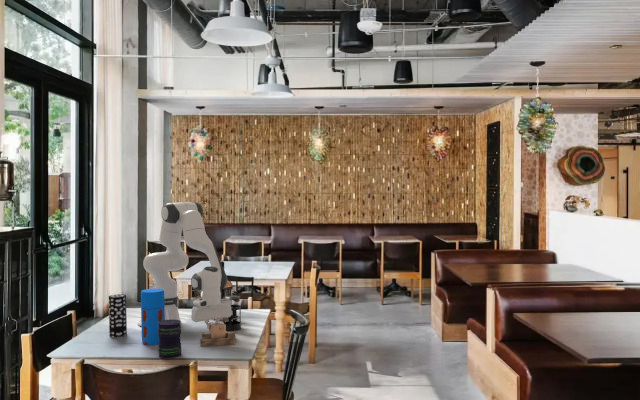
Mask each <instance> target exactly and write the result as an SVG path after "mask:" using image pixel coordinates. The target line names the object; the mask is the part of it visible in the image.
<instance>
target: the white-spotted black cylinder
mask: <svg viewBox="0 0 640 400" xmlns="http://www.w3.org/2000/svg"><path fill="white" fill-rule="evenodd" d="M108 321H109V322H108V324H109V325H108V326H109V327H108V329H109V331H108V332H109V335H108V336H109V337H110V338H122V337H123V338H124V337H126V336H127V334H128V331H127V330H128V326H127V324H128V323H127V322H128V321H127V295H126V294H120V293H119V294H117V293H116V294H112V295H108Z"/></svg>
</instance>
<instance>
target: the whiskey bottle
mask: <svg viewBox="0 0 640 400" xmlns="http://www.w3.org/2000/svg"><path fill="white" fill-rule="evenodd" d="M220 261H221V260H220ZM221 264H222V267H223V269H224V270H225V261H223V260H222V261H221ZM229 285H233V283H232V282H231V281H229V280H228V281H227V284H226V286H225V287H224V288H223V289H222V290H220V292H221V299H224V298H223V297H225V296H231V287H228V286H229ZM231 305H233V300H231ZM231 308H232V307H231ZM219 321H223V318H219ZM225 321H226V319H225Z"/></svg>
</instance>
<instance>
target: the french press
mask: <svg viewBox="0 0 640 400" xmlns="http://www.w3.org/2000/svg"><path fill="white" fill-rule="evenodd" d="M228 287H231V296H225V297H223V298H224V299H225V298H228V299H230V300H232V301H233V302H236V303H238V302H240V301H241V299H240V298H241V296H240V295H233V288H234V287H236V285H235V284H232V285H229V286H228ZM236 303H235V304H233V303H232V305H231V307H232V308H231V311H232V315H231V316H230V317H225V318H223V320H222V321H223V324H226V332H238V331H241V330H242V315H241V313H242V311H241V310H242V309H241V307H242V306H241V305H239V304H236ZM237 311H239V315H238V314H237V313H238V312H237ZM225 319H226V320H227V321H226V320H225ZM238 320H239V321H238Z"/></svg>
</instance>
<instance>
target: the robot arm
mask: <svg viewBox="0 0 640 400" xmlns="http://www.w3.org/2000/svg"><path fill="white" fill-rule="evenodd" d="M160 214H161V218H162V221H161V226H160V234H159V239H158V240H159V243H160V244H161V245H162V246H163V247H165V248H166V250H165V251H161V252H159V251H158V252H153V253H150V254H147V255H145V257H144V258H143V263H142V264H143V268H144V270H145V271H146V273H148V274H150V276H152V278H153V279H154V281H155V289H163V290H164V302H165V320H180V321H181V317H180V313H179V302H180V301H179V296H178V283H177V281H176V280H175V279H173V278H171V277H170V276H169V272H175V271H180V270H184V269H185V268H186V267H187V266H188V265H189V260H190V259H189V256H188V254H187V252H185V251H184V250H183V248H182V244H181V239H182V235H183V239H184V242H185V244H186V246H188V247H189V248H190V249H192V250H196V251H198V252H201V253H204V254H205V255H206V256H207V258H208V260H209V263H210V266H209V265H208V266H205V267H203V269H202V270H201V271H198V272H195V273H194V274H192V277H191V279H190V285H191V289H193V290H194V291H195V292H200V293H201V292H202V296H201V297H198V298H196V299H194V300H193V301H192V305H193V306H192V308H191V321H192V322H194V323H198V322H204V323H205V325H206V329H207V330H209V329H211V325H209V323H210V321H211V320H215V321H214V323H215V324H216V323H220V320H219V318H225V317H230V316H231V315H232V311H231V300H230V299H228V298H225V299H221V292H220V290H222V289H223V288H224V287H225V286H226V284H227V281H229V279H228V275H227V274H226V270H225V268H224V269H223V267H222V264H221V259H220V256H219V253H218V250H217V247H216V245H215V243H214V241H213V240H212V239H210V238H209V236H208V235H207V233H206V229H205V223H204V220H203V215H204V209H203V206H202V204H200V203H199V202H196V201H192V202H191V201H180V202H168V203H165V204H164V205H163V206H162V208H161V213H160ZM181 322H182V321H181ZM137 325H138V326H139V327H141V319H140V320H138V322H137Z"/></svg>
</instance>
